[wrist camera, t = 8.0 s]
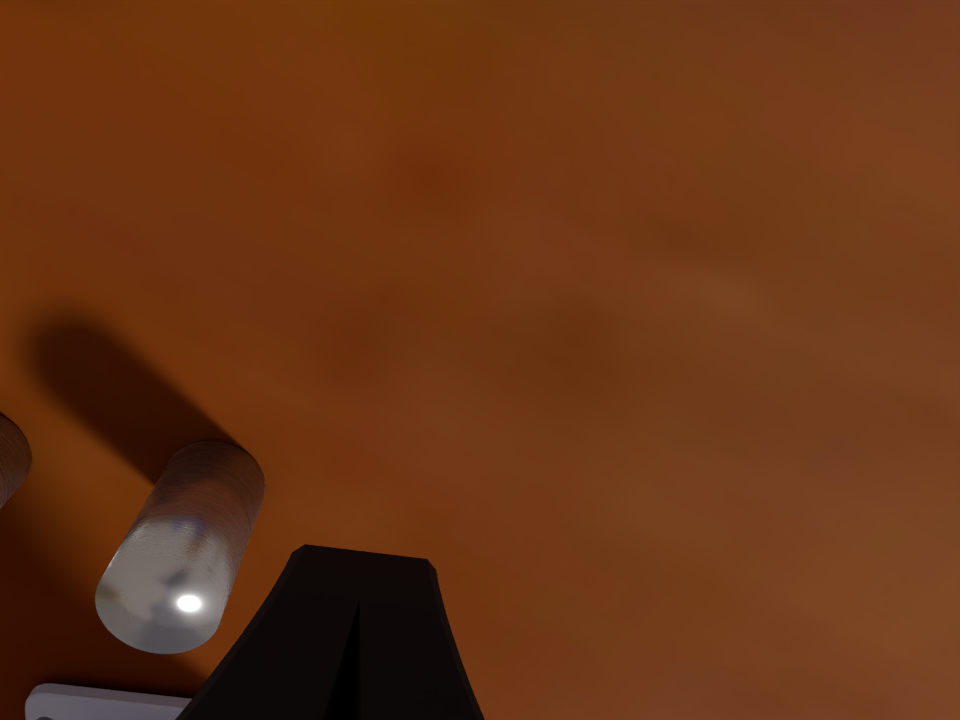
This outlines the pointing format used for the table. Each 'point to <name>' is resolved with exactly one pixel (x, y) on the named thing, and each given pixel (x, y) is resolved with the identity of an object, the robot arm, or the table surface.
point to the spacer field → (170, 543)
